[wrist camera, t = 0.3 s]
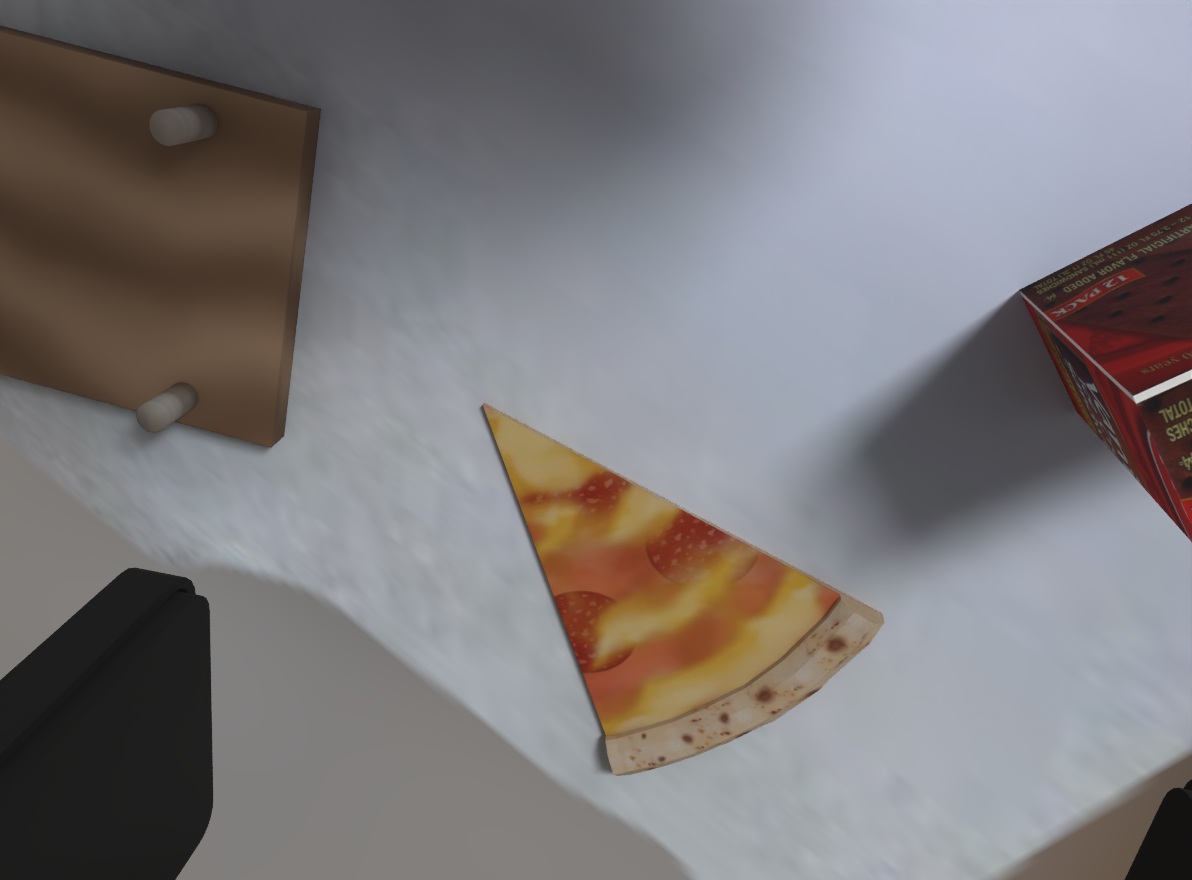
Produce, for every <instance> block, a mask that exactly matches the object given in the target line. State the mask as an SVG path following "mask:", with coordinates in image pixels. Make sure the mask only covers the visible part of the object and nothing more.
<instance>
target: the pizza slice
mask: <svg viewBox="0 0 1192 880" xmlns="http://www.w3.org/2000/svg"><path fill="white" fill-rule="evenodd" d="M483 407H484V410H485V413H486V415H487V418H488V421H489V423H490V426H491V429H492V431H493V434H494V437H495V439H496V442H497V445H498V448H499V450H500V453H501V456H502V458H503V461H504V464H505V466H506V469H507V472H508V474H509V477H510V480H511V482H512V485H513V488H514V490H515V493H516V496H517V499H518V501H519V504H520V507H521V509H522V512H523V515H524V517H525V520H526V523H527V525H528V528H529V531H530V533H531V536H532V539H533V541H534V544H535V547H536V550H537V552H538V555H539V558H540V560H541V563H542V566H543V568H544V571H545V574H546V576H547V579H548V582H549V584H550V587H551V590H552V592H553V595H554V598H555V601H556V603H557V606H558V609H559V611H560V614H561V617H562V619H563V622H564V625H565V627H566V630H567V633H568V635H569V638H570V641H571V643H572V646H573V649H574V652H575V654H576V657H577V660H578V662H579V665H580V668H581V670H582V673H583V676H584V678H585V681H586V684H587V686H588V689H589V692H590V694H591V697H592V700H593V703H594V705H595V708H596V711H597V713H598V716H599V719H600V721H601V724H602V727H603V729H604V732H605V735H606V739H605V742H606V748H607V754H608V759H609V762H610V765H611V768H612V772H613V775H618V776H620V775H631V774H635V773H639V772H643V771H647V770H651V769H655V768H659V767H663V766H666V765H669V764H672V763H675V762H678V761H681V760H684V759H687V758H690V757H693V756H696V755H698V754H701V753H703V752H706V751H708V750H711V749H713V748H715V747H718V746H720V745H723V744H725V743H728V742H730V741H732V740H734V739H736V738H738V737H740V736H742V735H744V734H746V733H749V732H751V731H753V730H755V729H757V728H759V727H761V726H763V725H765V724H768V723H770V722H772V721H775V720H776V719H778V718H779V717H781V716H782V715H783V714H785V713H786V712H788V711H789V710H791V709H792V708H794V707H795V706H797V705H798V704H799V703H801V702H802V701H804V700H805V699H807V698H808V697H810V696H811V695H812V694H814V693H815V692H817V691H818V690H820V689H821V688H822V686H823V685H824V684H825V683H826V682H827V681H828V680H829V679H830V678H831V677H832V676H833V675H835V674H836V673H837V672H838V671H839V670H840V669H841V668H842V667H844V666H845V665H846V664H847V663H848V662H849V661H850V660H852V659H853V658H854V657H855V656H856V655H857V654H858V653H859V652H861V651H862V650H863V649H864V648H865V647H866V646H867V645H868V644H869V643H870V642H871V641H872V639H873V638H874V636H875V635H876V634H877V632H878V631H879V629H880V628H881V626H882V625H883V624H884V619H883V615H882V613H881V612H879V611H877V610H875V609H873V608H871V607H869V606H867V605H866V604H864V603H862V602H860V601H858V600H856V599H854V598H852V597H850V596H849V595H847V594H845V593H843V592H841V591H839V590H837V589H835V588H833V587H832V586H830V585H828V584H826V583H824V582H822V581H820V580H818V579H816V578H815V577H813V576H811V575H809V574H807V573H805V572H803V571H801V570H799V569H798V568H796V567H794V566H792V565H790V564H788V563H786V562H784V561H782V560H781V559H779V558H777V557H775V556H773V555H771V554H769V553H767V552H765V551H764V550H762V549H760V548H758V547H756V546H754V545H752V544H750V543H748V542H747V541H745V540H743V539H741V538H739V537H737V536H735V535H733V534H731V533H730V532H728V531H726V530H724V529H722V528H720V527H718V526H716V525H714V524H713V523H711V522H709V521H707V520H705V519H703V518H701V517H699V516H697V515H696V514H694V513H692V512H690V511H688V510H686V509H684V508H682V507H680V506H679V505H677V504H675V503H673V502H671V501H669V500H667V499H665V498H663V497H662V496H660V495H658V494H656V493H654V492H652V491H650V490H648V489H646V488H645V487H643V486H641V485H639V484H637V483H635V482H633V481H631V480H629V479H628V478H626V477H624V476H622V475H620V474H618V473H616V472H614V471H612V470H611V469H609V468H607V467H605V466H603V465H601V464H599V463H597V462H595V461H594V460H592V459H590V458H588V457H586V456H584V455H582V454H580V453H578V452H577V451H575V450H573V449H571V448H569V447H567V446H565V445H563V444H561V443H560V442H558V441H556V440H554V439H552V438H550V437H548V436H546V435H544V434H543V433H541V432H539V431H537V430H535V429H533V428H531V427H529V426H527V425H526V424H524V423H522V422H520V421H518V420H516V419H514V418H512V417H510V416H509V415H507V414H505V413H503V412H501V411H499V410H497V409H495V408H493V407H492V406H490V405H488V404H486V403H485V404H484V405H483ZM616 734H618V735H616ZM610 735H611V736H610Z"/></svg>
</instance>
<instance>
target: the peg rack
mask: <svg viewBox="0 0 1192 880" xmlns="http://www.w3.org/2000/svg"><path fill="white" fill-rule="evenodd" d="M320 111H321V109H318V108H314V107H310V106H307V105H303V104H299V103H295V102H291V101H287V100H284V99H280V98H276V97H272V96H268V95H264V94H261V93H257V92H253V91H249V90H245V89H241V88H238V87H234V86H230V85H226V84H222V83H218V82H215V81H211V80H207V79H203V78H199V77H195V76H192V75H188V74H184V73H180V72H176V71H172V70H169V69H165V68H161V67H157V66H153V65H149V64H146V63H142V62H138V61H134V60H130V59H126V58H122V57H119V56H115V55H111V54H107V53H103V52H99V51H96V50H92V49H88V48H84V47H80V46H76V45H73V44H69V43H65V42H61V41H57V40H53V39H50V38H46V37H42V36H38V35H34V34H30V33H27V32H23V31H19V30H15V29H11V28H7V27H4V26H0V374H2V375H5V376H9V377H13V378H16V379H20V380H24V381H27V382H31V383H35V384H38V385H42V386H46V387H49V388H53V389H57V390H61V391H64V392H68V393H72V394H75V395H79V396H83V397H86V398H90V399H94V400H97V401H101V402H105V403H109V404H112V405H116V406H120V407H123V408H127V409H131V410H134V411H137V413H136V417H137V421H138V423H139V424H140V426H141V427H142V428H143V429H145V430H146V431H149V432H153V433H156V432H160V431H161V430H163V429H164V428H166V427H167V426H168V425H170V424H171V423H173V422H174V421H175V422H179V423H182V424H186V425H190V426H193V427H197V428H201V429H204V430H208V431H212V432H216V433H219V434H223V435H227V436H230V437H234V438H238V439H241V440H245V441H249V442H252V443H256V444H260V445H263V446H267V447H272V446H273V445H274V444H276V443H277V442H278V441H279V440H280V439H281V438H282V437H283V436H284V431H285V422H286V413H287V404H288V395H289V386H290V378H291V369H292V360H293V351H294V342H295V333H296V324H297V315H298V306H299V298H300V289H301V280H302V271H303V262H304V253H305V244H306V235H307V226H308V218H309V209H310V200H311V191H312V182H313V173H314V164H315V155H316V146H317V138H318V129H319V120H320Z"/></svg>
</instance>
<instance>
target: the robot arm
mask: <svg viewBox="0 0 1192 880" xmlns="http://www.w3.org/2000/svg"><path fill="white" fill-rule="evenodd" d="M210 660H211V658H210V610H209V603H208V601H207V599H206V598H205V597H203V596H200V595H196V594H195V587H194V585H193V583H192V581H191V580H189V579H188V578H185V577H180V576H175V575H170V574H165V573H159V572H155V571H149V570H144V569H139V568H129V569H127V570H125V571H124V572H122V573H121V574H120V575H118V576H117V577H116V578H115V579H114V580H113V581H112V582H111V583H109V584H108V585H107V586H106V587H105V588H104V589H103V590H102V591H100V592H99V593H98V594H97V595H96V596H95V597H94V598H92V599H91V600H90V601H89V602H88V603H87V604H86V605H85V606H83V607H82V608H81V609H80V610H79V611H78V612H77V613H76V614H74V615H73V616H72V617H71V618H70V619H69V620H68V621H67V622H66V623H64V624H63V625H62V626H61V627H60V628H59V629H58V630H57V631H55V632H54V633H53V634H52V635H51V636H50V637H49V638H47V639H46V640H45V641H44V642H43V643H42V644H41V645H40V646H38V647H37V648H36V649H35V650H34V651H33V652H32V653H31V654H30V655H28V656H27V657H26V658H25V659H24V660H23V661H22V662H20V663H19V664H18V665H17V666H16V667H15V668H14V669H12V670H11V671H10V672H9V673H8V674H7V675H6V676H5V677H3V678H2V679H1V680H0V880H175V879H176V878H177V876H178V875H179V873H180V872H181V870H182V869H183V867H184V866H185V864H186V863H187V861H188V860H189V858H190V857H191V855H192V853H193V852H194V850H195V849H196V847H197V846H198V844H199V843H200V841H201V839H202V838H203V836H204V834H205V831H206V829H207V827H208V824H209V820H210V817H211V813H212V808H213V767H212V766H213V765H212V717H211V716H212V715H211V714H212V713H211V662H210ZM1125 880H1192V780H1190V781H1189V782H1188V783H1187V784H1186V785H1185V787H1184V788H1183V789H1182V788H1173V789H1172V790H1170V791H1169V792H1168V793H1167V794H1166V796H1165V797H1164V799H1163V801H1162V803H1161V805H1160V807H1159V809H1158V811H1157V813H1156V815H1155V817H1154V819H1153V822H1152V824H1151V826H1150V828H1149V830H1148V832H1147V834H1146V836H1145V838H1144V841H1143V843H1142V845H1141V847H1140V849H1139V851H1138V853H1137V855H1136V857H1135V860H1134V861H1133V864H1132V866H1131V868H1130V870H1129V872H1128V874H1127V876H1126V878H1125Z"/></svg>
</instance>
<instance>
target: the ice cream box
mask: <svg viewBox="0 0 1192 880" xmlns="http://www.w3.org/2000/svg"><path fill="white" fill-rule="evenodd" d="M1019 291H1020V293H1021V295H1022V297H1023V299H1024V301H1025V304H1026V306H1027V308H1028V310H1029V312H1030V314H1031V316H1032V318H1033V320H1034V322H1035V325H1036V327H1037V329H1038V331H1039V333H1040V335H1041V337H1042V339H1043V341H1044V343H1045V345H1046V348H1047V350H1048V352H1049V354H1050V356H1051V358H1052V360H1053V362H1054V364H1055V366H1056V369H1057V371H1058V373H1059V375H1060V377H1061V379H1062V381H1063V383H1064V385H1065V387H1066V390H1067V392H1068V394H1069V396H1070V398H1071V400H1072V402H1073V404H1074V406H1075V408H1076V410H1077V413H1078V414H1079V415H1080V416H1081V417H1082V418H1083V419H1084V421H1085V422H1086V423H1087V424H1088V425H1089V426H1090V427H1091V428H1092V430H1093V431H1094V432H1095V433H1096V434H1097V435H1098V436H1099V438H1100V439H1101V440H1102V441H1103V442H1104V443H1105V444H1106V445H1107V447H1108V448H1109V449H1110V450H1111V451H1112V452H1113V453H1114V454H1115V456H1116V457H1117V458H1118V459H1119V460H1120V461H1121V462H1122V464H1123V465H1124V466H1125V467H1126V468H1127V469H1128V470H1129V471H1130V473H1131V474H1132V475H1133V476H1134V477H1135V478H1136V479H1137V481H1138V482H1139V483H1140V484H1141V485H1142V486H1143V487H1144V488H1145V490H1146V491H1147V492H1148V493H1149V494H1150V495H1151V496H1152V497H1153V499H1154V500H1155V501H1156V502H1157V503H1158V504H1159V505H1160V507H1161V508H1162V509H1163V510H1164V511H1165V512H1166V513H1167V514H1168V516H1169V517H1170V518H1171V519H1172V520H1173V521H1174V522H1175V524H1176V525H1177V526H1178V527H1179V528H1180V529H1181V530H1182V531H1183V533H1184V534H1185V535H1186V536H1187V537H1188V538H1189V539H1190V540H1191V542H1192V204H1190V205H1188V206H1186V207H1184V208H1182V209H1180V210H1178V211H1176V212H1174V213H1172V214H1170V215H1168V216H1166V217H1164V218H1162V219H1160V220H1158V221H1156V222H1154V223H1152V224H1150V225H1148V226H1146V227H1144V228H1142V229H1140V230H1138V231H1136V232H1134V233H1132V234H1130V235H1128V236H1126V237H1124V238H1122V239H1120V240H1118V241H1116V242H1114V243H1112V244H1110V245H1108V246H1106V247H1104V248H1102V249H1100V250H1098V251H1096V252H1094V253H1092V254H1090V255H1088V256H1086V257H1084V258H1082V259H1080V260H1078V261H1076V262H1074V263H1072V264H1070V265H1068V266H1066V267H1064V268H1062V269H1060V270H1058V271H1056V272H1054V273H1052V274H1050V275H1048V276H1046V277H1044V278H1042V279H1040V280H1038V281H1036V282H1034V283H1032V284H1030V285H1028V286H1026V287H1024V288H1022V289H1020V290H1019Z"/></svg>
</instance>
